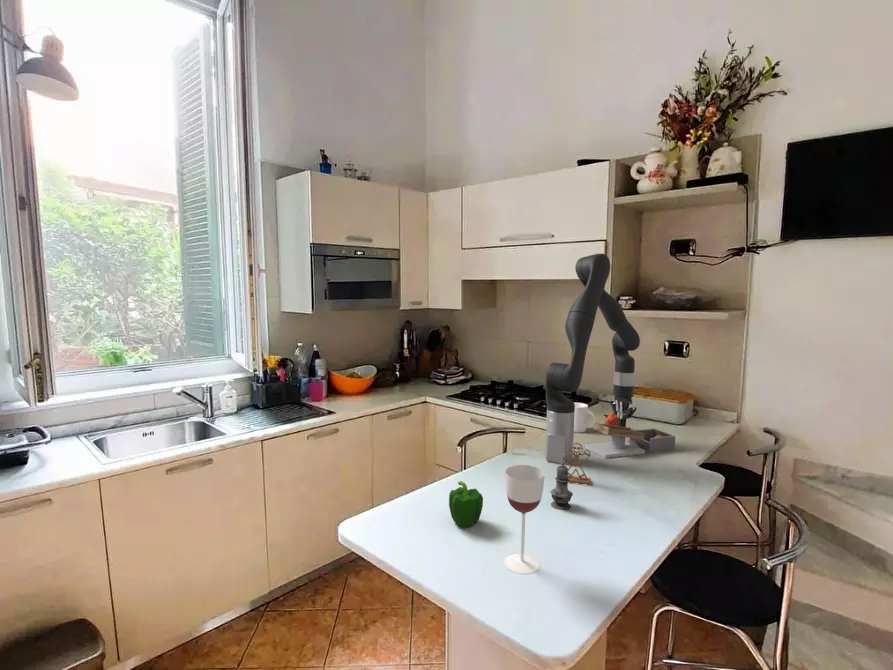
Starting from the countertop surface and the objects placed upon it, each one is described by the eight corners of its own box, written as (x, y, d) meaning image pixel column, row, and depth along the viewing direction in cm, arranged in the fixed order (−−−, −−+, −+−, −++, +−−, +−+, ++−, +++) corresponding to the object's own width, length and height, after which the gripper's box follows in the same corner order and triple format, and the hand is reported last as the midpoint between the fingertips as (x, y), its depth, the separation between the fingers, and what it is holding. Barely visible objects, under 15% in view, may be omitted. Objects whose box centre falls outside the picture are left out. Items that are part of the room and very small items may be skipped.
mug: (591, 435, 196) (592, 409, 195) (562, 430, 202) (563, 405, 201) (597, 430, 203) (598, 405, 202) (569, 425, 210) (570, 401, 209)
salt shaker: (568, 512, 128) (570, 468, 127) (546, 506, 131) (548, 463, 130) (575, 504, 133) (576, 461, 132) (554, 499, 136) (555, 457, 135)
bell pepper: (487, 528, 119) (488, 488, 118) (454, 532, 116) (455, 492, 115) (475, 513, 127) (476, 476, 126) (444, 517, 124) (445, 479, 123)
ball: (659, 441, 182) (667, 442, 183) (656, 432, 184) (663, 434, 185) (653, 445, 184) (660, 447, 185) (650, 437, 186) (657, 438, 187)
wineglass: (498, 570, 101) (501, 476, 99) (508, 549, 109) (511, 462, 107) (536, 578, 98) (540, 483, 96) (544, 556, 106) (547, 468, 105)
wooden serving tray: (643, 439, 177) (645, 432, 177) (607, 435, 172) (609, 428, 172) (616, 428, 191) (618, 421, 191) (582, 423, 186) (584, 417, 186)
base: (644, 453, 175) (645, 438, 175) (605, 458, 170) (606, 442, 169) (622, 443, 187) (623, 429, 186) (584, 447, 181) (585, 433, 181)
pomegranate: (618, 432, 208) (600, 416, 211) (630, 421, 205) (611, 405, 208) (616, 439, 202) (596, 422, 204) (628, 427, 199) (608, 410, 201)
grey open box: (674, 449, 181) (675, 436, 180) (649, 452, 177) (650, 438, 176) (653, 440, 191) (654, 428, 190) (629, 443, 187) (630, 430, 186)
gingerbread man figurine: (559, 481, 148) (561, 443, 147) (560, 477, 152) (562, 439, 151) (590, 485, 146) (592, 446, 145) (590, 480, 150) (592, 442, 149)
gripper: (644, 386, 181) (641, 431, 183) (620, 379, 193) (618, 422, 195) (627, 387, 179) (625, 433, 180) (604, 380, 191) (602, 423, 193)
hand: (621, 427), depth 188 cm, fingers closed
